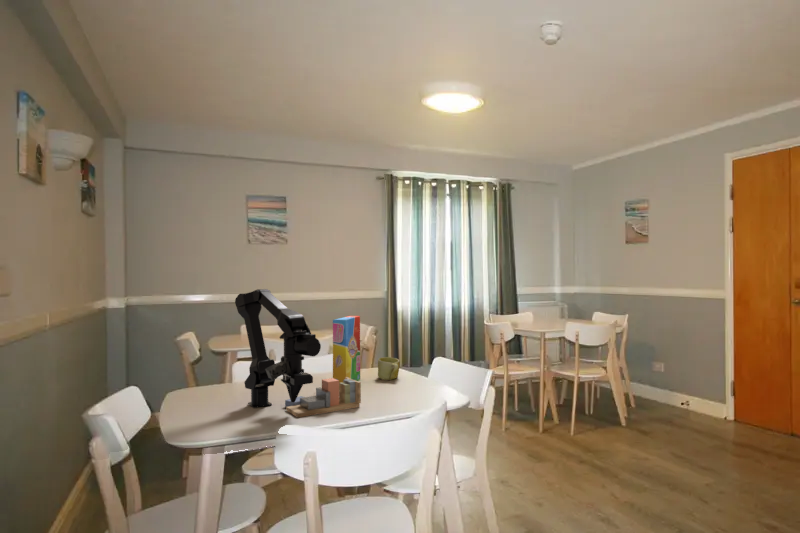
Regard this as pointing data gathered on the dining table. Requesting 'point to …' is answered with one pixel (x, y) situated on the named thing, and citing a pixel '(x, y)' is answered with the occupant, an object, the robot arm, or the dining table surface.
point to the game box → (346, 348)
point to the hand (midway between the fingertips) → (292, 401)
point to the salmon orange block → (332, 390)
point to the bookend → (316, 400)
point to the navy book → (297, 402)
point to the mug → (388, 368)
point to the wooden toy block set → (347, 400)
